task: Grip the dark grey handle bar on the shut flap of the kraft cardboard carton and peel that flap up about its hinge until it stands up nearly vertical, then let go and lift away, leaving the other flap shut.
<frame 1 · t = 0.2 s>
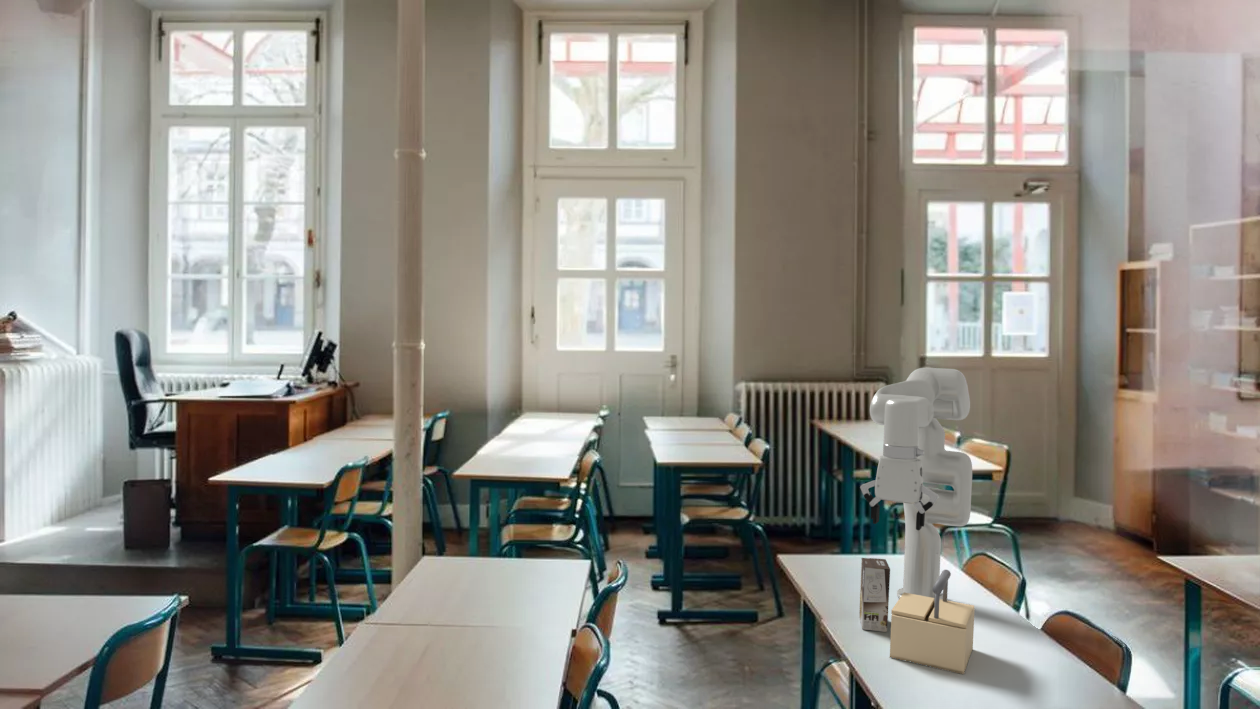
hand: (897, 525, 183), 31 cm above the table, tool pointing down, fingers open, 9 cm apart
coffee box: (873, 625, 204), on the table
flap: (952, 597, 184), point 14 cm above the table, hinge at 0.0°
carton: (931, 653, 187), on the table
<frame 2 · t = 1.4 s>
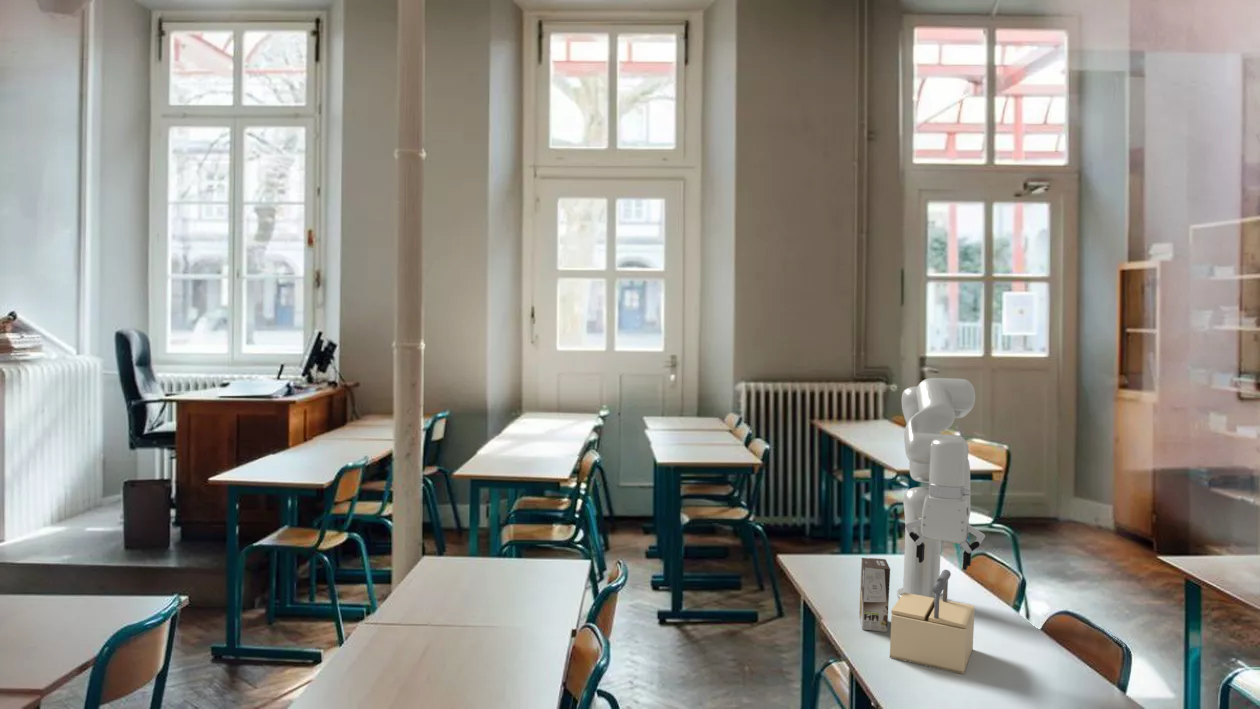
hand: (942, 564, 185), 22 cm above the table, tool pointing down, fingers open, 9 cm apart
nothing on the table moved.
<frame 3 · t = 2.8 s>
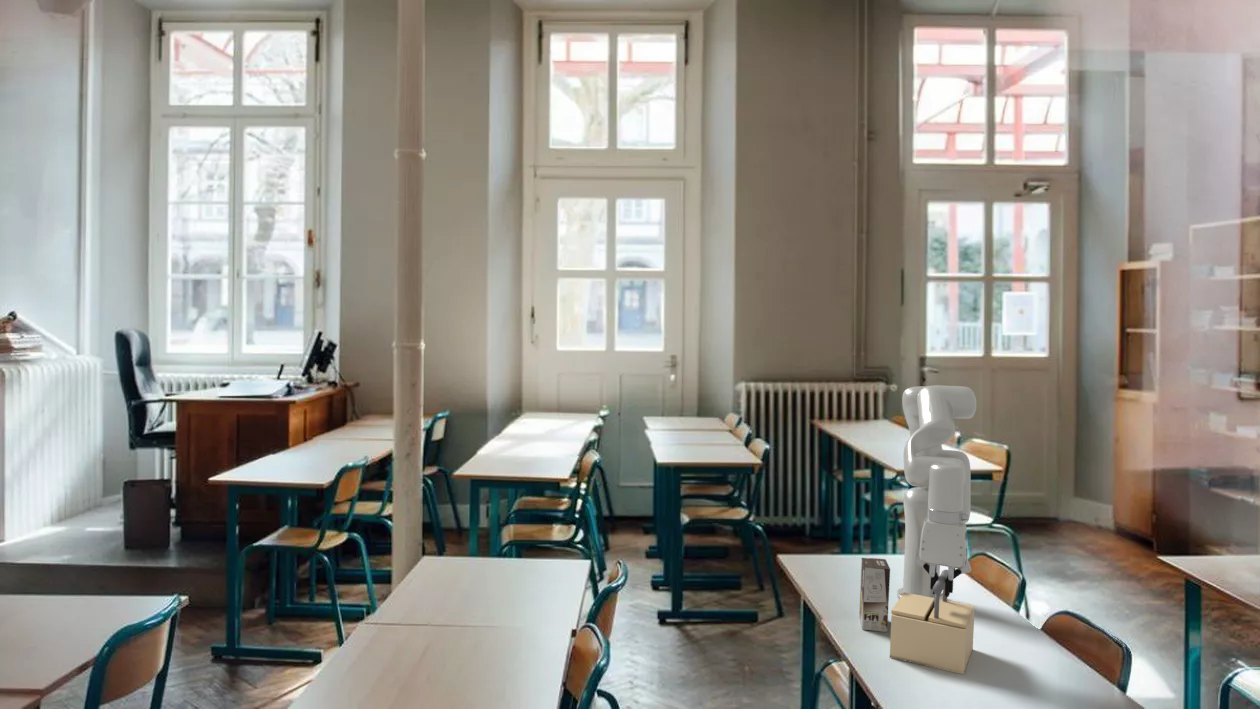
hand: (941, 593, 185), 15 cm above the table, tool pointing down, fingers closed on flap, 2 cm apart
flap: (952, 597, 184), point 14 cm above the table, hinge at 0.0°, touching gripper
everything else where it was.
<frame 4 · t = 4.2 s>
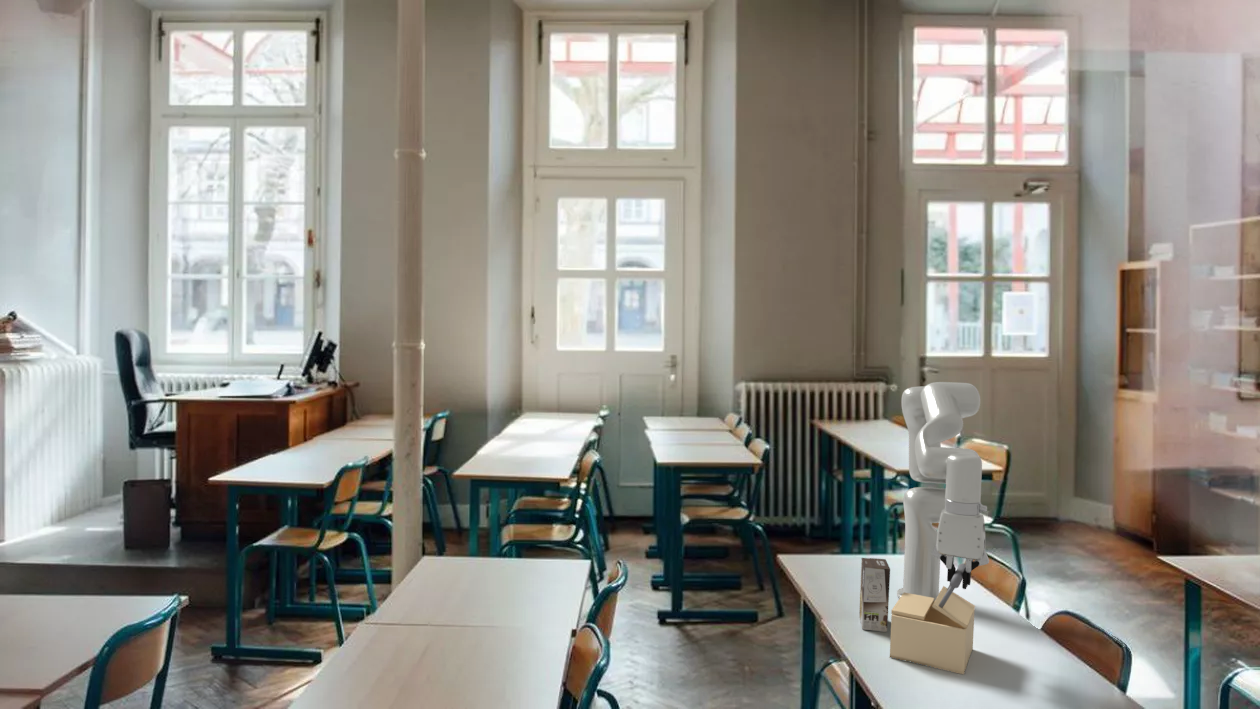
hand: (958, 585, 183), 17 cm above the table, tool pointing down, fingers closed on flap, 2 cm apart
flap: (962, 593, 183), point 16 cm above the table, hinge at 25.4°, touching gripper
everything else where it was.
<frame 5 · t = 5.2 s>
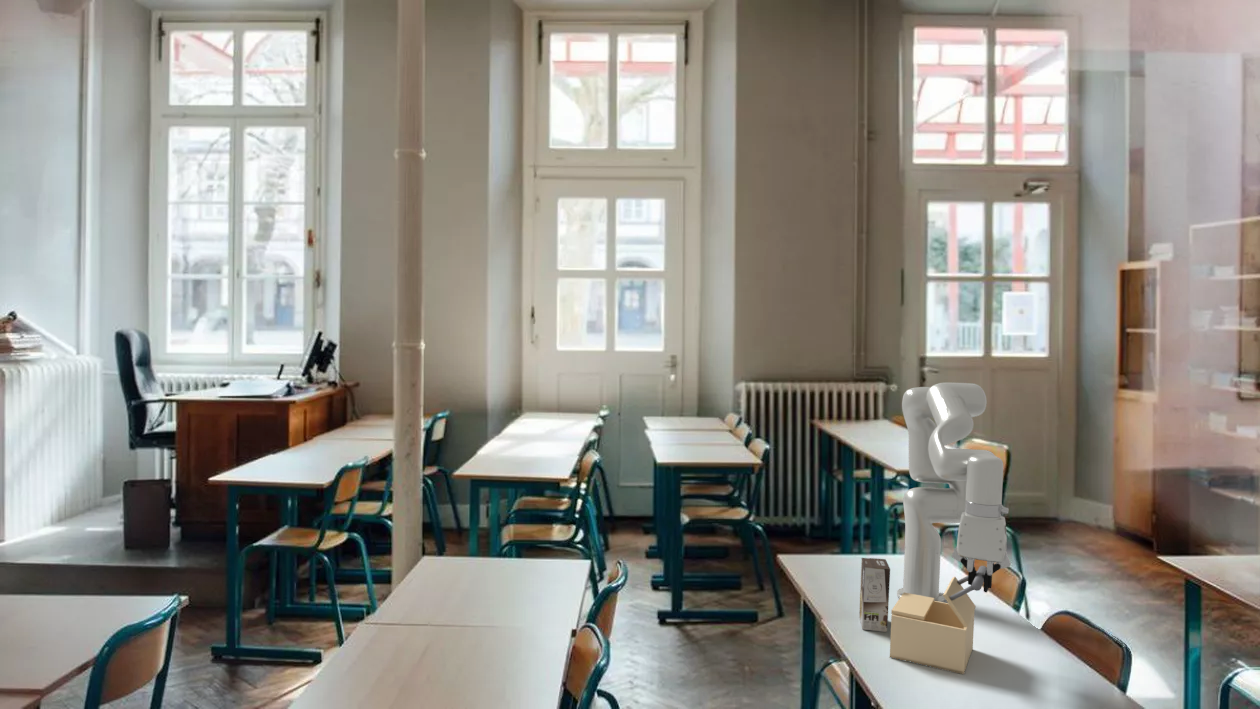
hand: (979, 588, 181), 17 cm above the table, tool pointing down, fingers closed on flap, 2 cm apart
flap: (974, 593, 182), point 16 cm above the table, hinge at 52.6°, touching gripper
everything else where it was.
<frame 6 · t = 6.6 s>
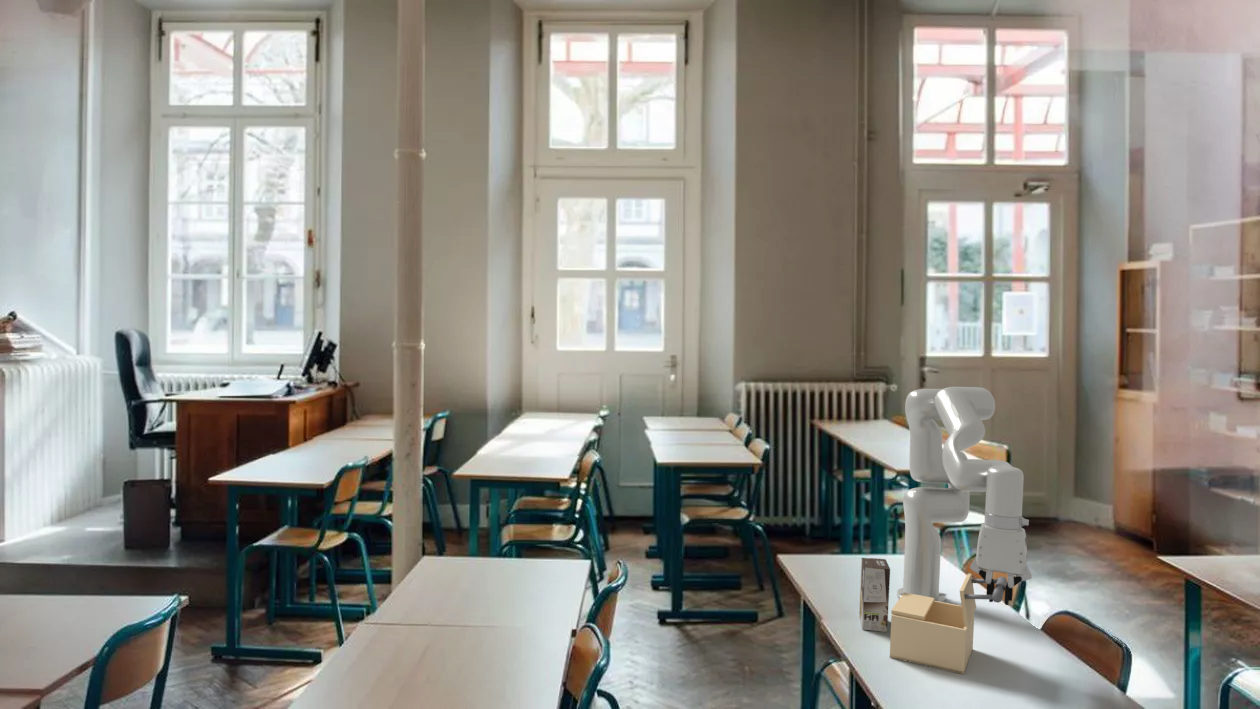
hand: (999, 601, 179), 15 cm above the table, tool pointing down, fingers closed
flap: (985, 599, 181), point 15 cm above the table, hinge at 80.1°
everything else where it was.
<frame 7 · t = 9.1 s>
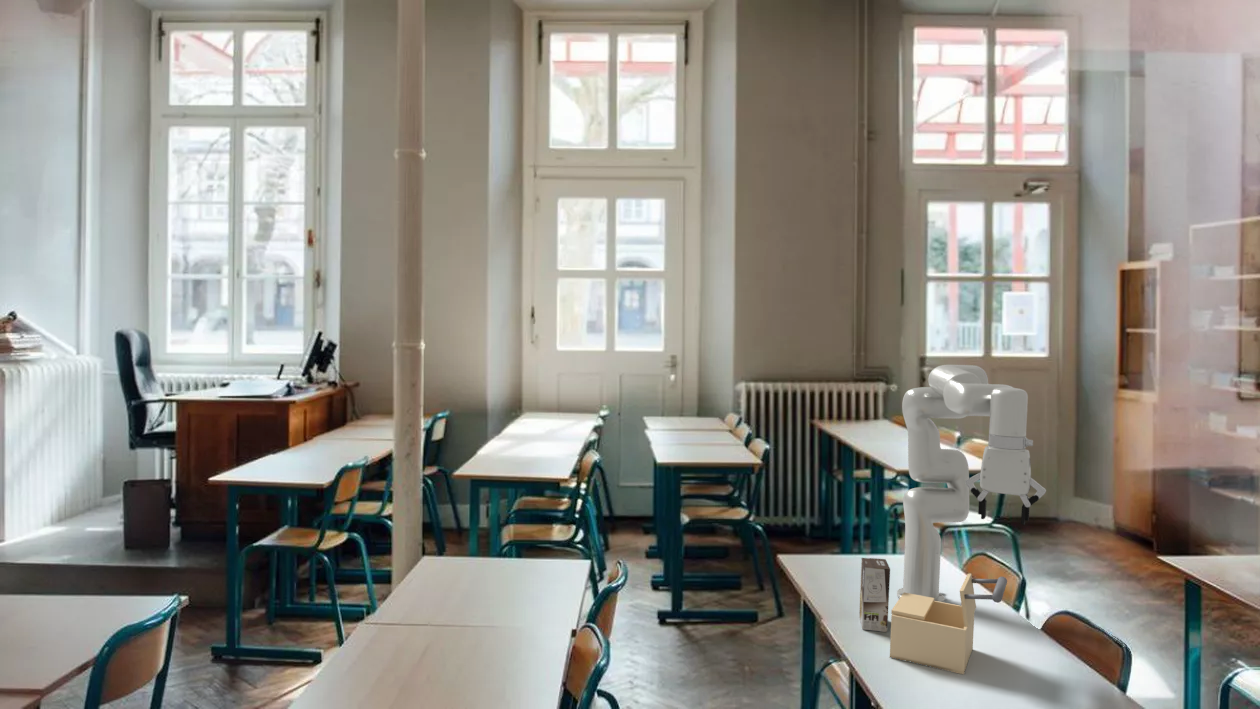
hand: (1003, 520, 178), 34 cm above the table, tool pointing down, fingers open, 7 cm apart
nothing on the table moved.
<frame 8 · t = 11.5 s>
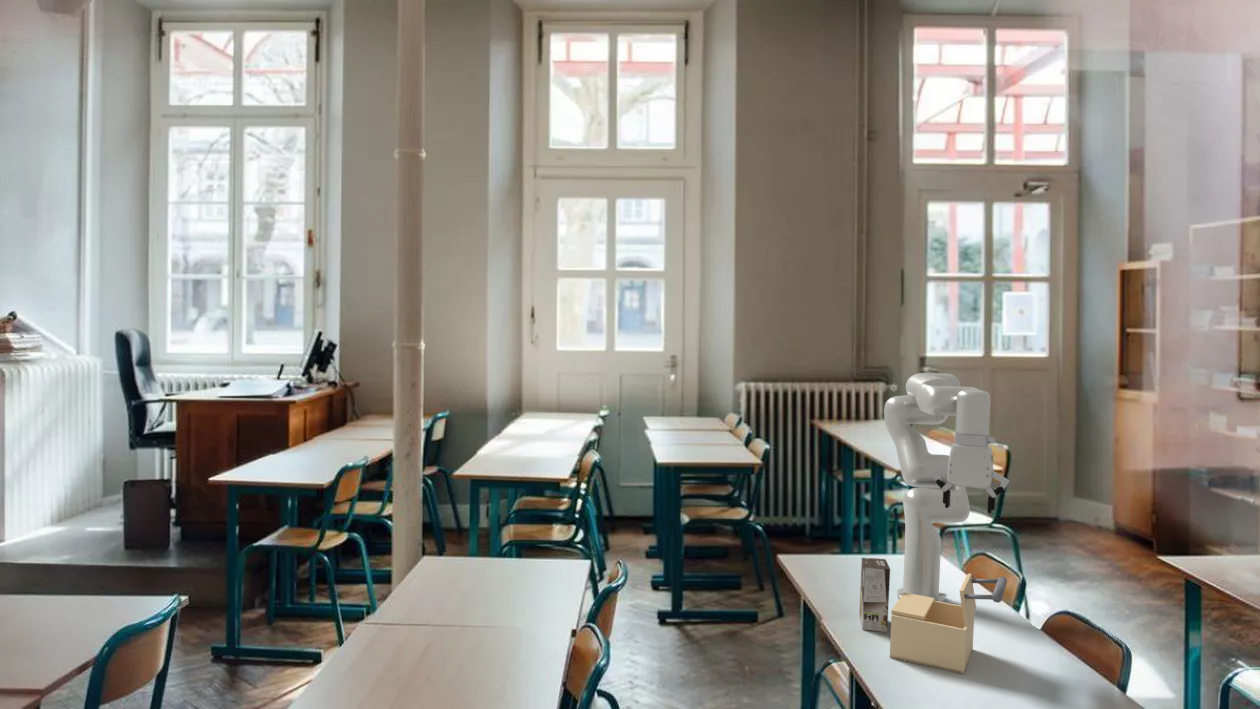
hand: (968, 509, 195), 32 cm above the table, tool pointing down, fingers open, 9 cm apart
nothing on the table moved.
at the end: flap at +80° (first picture: +0°); the gripper is holding nothing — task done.
